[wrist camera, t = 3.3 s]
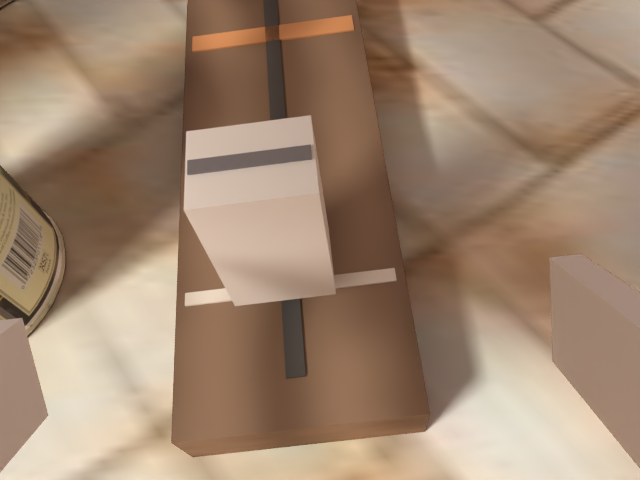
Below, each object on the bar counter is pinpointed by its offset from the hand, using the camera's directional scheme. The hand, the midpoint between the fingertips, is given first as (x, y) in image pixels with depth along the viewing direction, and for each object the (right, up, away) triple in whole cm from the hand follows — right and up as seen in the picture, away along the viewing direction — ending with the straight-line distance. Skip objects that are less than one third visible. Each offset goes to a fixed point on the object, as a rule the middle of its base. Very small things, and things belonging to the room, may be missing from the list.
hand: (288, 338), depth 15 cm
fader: (-1, +1, +11) cm, 11 cm away
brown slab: (-1, +6, +18) cm, 19 cm away
